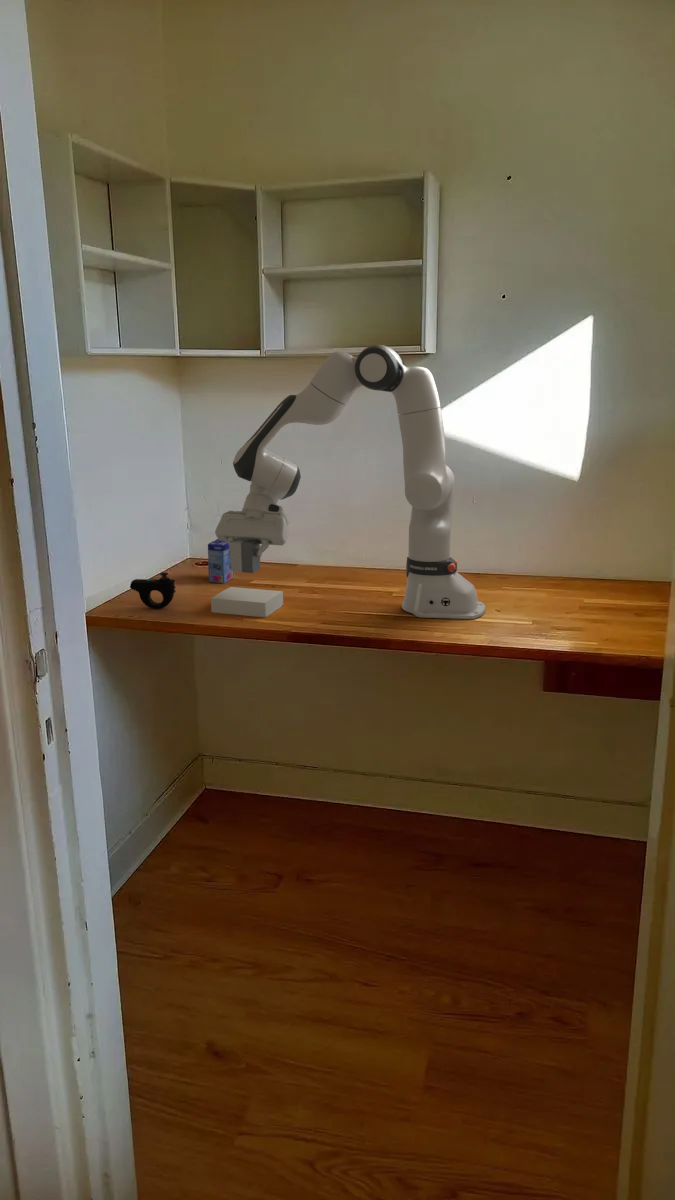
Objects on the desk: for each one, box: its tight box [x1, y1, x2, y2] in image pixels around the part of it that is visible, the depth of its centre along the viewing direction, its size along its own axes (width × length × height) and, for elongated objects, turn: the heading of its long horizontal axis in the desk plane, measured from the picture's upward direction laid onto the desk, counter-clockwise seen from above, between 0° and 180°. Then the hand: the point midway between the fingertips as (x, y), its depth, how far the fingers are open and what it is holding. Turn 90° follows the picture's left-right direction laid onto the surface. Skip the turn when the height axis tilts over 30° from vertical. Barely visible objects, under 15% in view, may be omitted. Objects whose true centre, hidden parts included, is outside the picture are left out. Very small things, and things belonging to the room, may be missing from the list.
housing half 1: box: [230, 539, 248, 573], centre depth 228 cm, size 3×5×8 cm, turn 161°
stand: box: [210, 586, 284, 618], centre depth 231 cm, size 16×12×4 cm
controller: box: [129, 572, 177, 610], centre depth 232 cm, size 4×12×10 cm, turn 84°
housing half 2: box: [241, 539, 261, 574], centre depth 227 cm, size 3×5×8 cm, turn 161°
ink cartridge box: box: [207, 538, 236, 584], centre depth 261 cm, size 10×6×14 cm, turn 166°
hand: (244, 554), depth 227 cm, fingers open, 6 cm apart
